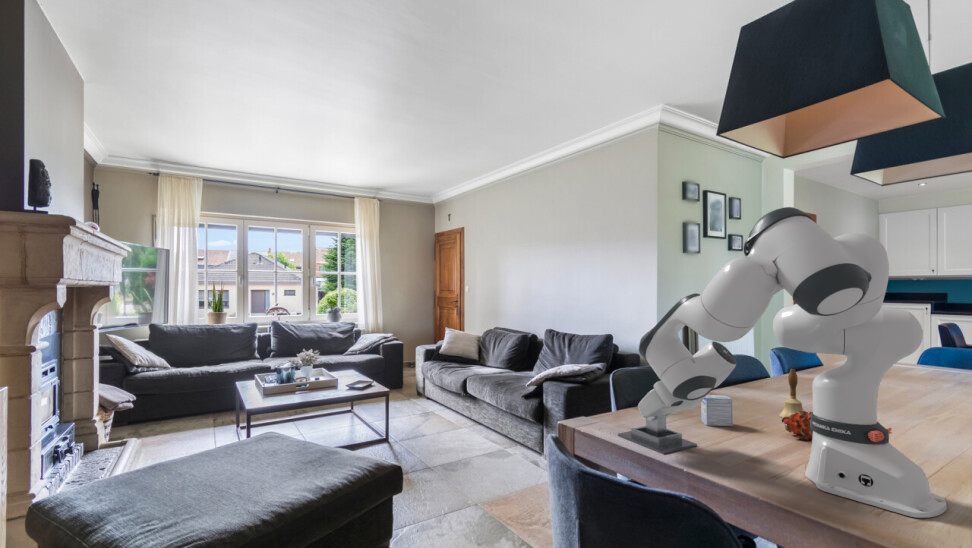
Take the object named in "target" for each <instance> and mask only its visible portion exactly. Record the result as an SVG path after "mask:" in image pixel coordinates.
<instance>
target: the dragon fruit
mask: <svg viewBox="0 0 972 548" xmlns="http://www.w3.org/2000/svg"><path fill="white" fill-rule="evenodd" d="M812 412H813V411H805V410H803V411H801V410H799V413H796V414H792V415H791V416H787V417H784V418H782V419H781V423H783V424H784V428H785V430H786V431H787V432H788V433H791V434H794V435H796V438H797V439H798V440H804V439H805V438H806V439H807V440H808V441H810V442H812V435H811V427H810V422H811V413H812Z"/></svg>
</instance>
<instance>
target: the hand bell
mask: <svg viewBox="0 0 972 548" xmlns="http://www.w3.org/2000/svg"><path fill="white" fill-rule="evenodd" d="M787 379H788V380H787V381H788V384H789V391H790V392H789V398H788V399H786V400H785V403H784V406H783V409H782V411H781V412H780V413H779V414H778V417H780V418H782V419H783V418H784V417H787V416H791V415H792V414H796V413H799V410H801V411H804V408H803V403H802V402H801V400H798V399H797V391H796V389H797V385H798V380H799V379H798V374H797V372H796V369H794V368H790V370H789V373H788V375H787Z"/></svg>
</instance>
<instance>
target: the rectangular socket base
mask: <svg viewBox="0 0 972 548" xmlns="http://www.w3.org/2000/svg"><path fill="white" fill-rule="evenodd" d="M617 436H618V437H620V438H623V439H625V440H628V441H630V442H632V443H635V444H637V445H641V446H642V447H645V448H648V449H650V450H652V451H655V452H657V453H660V454H662V455H665V454H670V453H674V452H677V451H682V450H686V449H687V450H688V449H689V448H690V449H691V448H694V447H697V446H698V443H696V442H694V441H693V442H692V441H690V440H688V439H685V438H683V434H682V433H680V432H677V431H674V430H672V429H669V428H666V436H664V437H659V438H658V437H655V436H653V435H650V434H647V433H646V425H644V426H639V427H634V428H633V427H632V428H631V429H630V431H625V432H624V431H623V432H620V433H618V434H617Z"/></svg>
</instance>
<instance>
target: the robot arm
mask: <svg viewBox="0 0 972 548" xmlns="http://www.w3.org/2000/svg"><path fill="white" fill-rule="evenodd" d="M743 254H744V256H741V257H736V258H733V259H730V260H729V261H728V262H726V263H725V264H724V265H723V266H722V267H721V268H720V269H719V271H717V273H715V275H714V276H713V277H712V279H710V280H709V282H708V283H707V285H706V287H705V288H704V290H703V291H702V293H701V294H700V293H692V294H688V295H686V296H685V297H683V298H681V299H680V300H678V301H677V302H676V303H675V304H674V305H673V306H672V307H671V308H670V309H669V310H668V311H667V312H666V313H665V315H664V316H663V317H662V318H661V319H660V320H659V321H658V322H657V324H656V325H655V326H654V327H653V328H651V329H649V330H648V331H647V332H646V333H645V334H644V335H643V336H642V337H641V338H640V341H639V345H638V353H639V354H640V355H641V356H642V358H643V359H644V360H645V361H646V362H647V364H649V366H650V367H651V369H652V371H653V372H654V373H655V374H656V376H657V378H658V379H659V380H658V381H656V382H655V383H654V384H653V389H651V390H650V391H648V392H647V393H646V395H644V397H642V399H641V400H640V401H639V403H637V404H638V405H637V408H638V410H639V412H640V414H641V415H642V417H643V418H645V419H646V418H648V420H649V421H653V420H655V419H656V418H657V417H656V416H658V415H664V414H666V419H667V418H668V417H669V416H671V415H673V414H674V413H679V412H683V411H684V412H685V411H689V410H693V409H695V408H696V407H698V406H699V404H701V401H702V400H703V399H704V398H705V397H706V396H707V395H710V392H711V391H713V389H715V388H718V386H720V385H721V384H722V383H723V382H724V381H725V380H726V379H727V378H728V377H729V376H730V374H731V373H732V372H733V371H734V369H735V368H736V366H737V361H736V357H735V356H734V355H733V353H731V352H730V350H729V349H728V348H727V347H726V346H724V345H723V344H722V343H730V342H735V341H738V340H740V339H742V338H744V337H745V336H746V335H748V333H749V332H750V331H751V330H752V329H753V328H754V327H755V326H756V324H757V323H759V320H760V319H761V318H762V317H763V315H764V313H765V312H766V310H767V309H768V307H769V305H770V304H771V301H772V299H773V298H774V295H776V294H777V293H779V292H780V291H782V290H783V289H784V290H785V291H786V292H787V293H788V294H789V295H790V296H791V297H792V300H793V303H795V304H791V305H789V306H785V307H782V308H781V309H780V310H779V311H777V313H776V314H775V316H774V317H773V321H772V333H773V335H774V337H775V339H776V341H777V342H778V343H779V344H780V345H781V346H783V348H787V349H791V350H794V351H798V352H799V351H801V352H805V353H810V354H811V353H813V354H826V355H840V356H842V355H843V356H844V357H846V360H845V362H844V363H843V364H842V365H841V366H838V367H835V368H831V369H829V370H825V371H824V372H821V373H819V374H818V375H816V377H814V379H813V380H812V385H811V386H812V390H811V391H812V411H811V412H812V413H811V422H810V427H811V435H812V441H811V448H810V455H809V459H808V463H807V467H806V470H805V472H804V474H805V476H806V477H807V479H809V480H810V481H811V482H813V483H814V484H815V485H816V488H817V489H819V490H820V491H822V492H826V493H828V494H833V495H836V496H839V497H843V498H847V499H848V500H852V501H857V502H859V503H864V504H866V505H869V506H870V505H871V506H874V507H877V508H880V509H884V510H887V511H890V512H893V513H897V514H900V515H904V516H908V517H912V518H916V519H917V518H918V519H923V518H924V519H925V518H933V517H934V518H935V517H937V516H940V515H942V514H944V513H945V512H946V511H947V510H948V509H947V508H948V507H947V501H946V500H945V499H944V498H943V497H942V496H940V495H937V494H935V493H932V491H931V487H930V482H929V480H928V477H927V474H926V472H925V470H924V469H923V468H922V467H920V466H919V465H918V464H916V462H914V461H913V460H912V459H910V458H909V457H907V456H906V455H905V454H904V453H902V452H901V451H900V450H899V449H898V448H897V447H895V446H893V444H891V443H890V435H891V434H892V433H893V432H892V427H889V428H886V427H884V426H883V425H882V424H881V423H880V422H879V421H878V398H879V397H878V396H879V388H880V385H881V382H882V379H883V378H884V376H885V375H886V373H887V372H888V371H889V370H890V369H891V368H892V367H893V366H894V365H895V364H896V363H898V362H900V361H901V360H903V359H904V358H907V357H909V356H911V355H912V354H914V353H915V352H917V350H918V349H919V348H920V346H921V344H922V342H923V338H924V330H923V327H922V324H921V322H920V321H919V319H918V318H917V317H916V316H915V315H914V314H913V313H912V312H910V311H908V310H905V309H900V308H895V307H889V306H888V307H887V306H883V305H884V299H885V296H886V292H887V288H888V283H889V277H890V264H889V257H888V252H887V249H886V247H885V246H884V245H883V243H882V242H880V240H878V239H877V238H875V237H873V236H871V235H868V234H864V233H857V232H856V233H854V232H853V233H852V232H850V233H844V234H841V235H838V236H835V237H833V236H832V235H830V233H828V232H827V231H826V230H825V229H824V228H823V227H822V226H820V225H819V224H818V223H816V222H815V221H814V218H813V217H811V215H809V214H807V213H806V212H804V211H803V210H800V209H799V208H795V207H791V206H786V207H781V208H776V209H774V210H770V211H769V212H767V213H766V214H764V215H763V216H762V217H760V218H759V220H757V221H756V223H755V224H754V226H752V229H751V230H750V232H749V234H748V238H746V239H745V241H744V243H743ZM685 326H687V327H688V328H690V329H691V330H692V331H693V332H695V333H696V334H698V335H699V336H701V337H702V338H704V339H708V340H709V341H710V342H709V343H707V344H705V345H704V346H702V347H701V348H700V349H699V350H698V351H696V353H694V354H692V353H691V352H690V350H689V349H688V348H687V346H685V344H684V343H683V342H682V340H681V339H680V336H679V332H681V331H682V329H683V328H684V327H685Z"/></svg>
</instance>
